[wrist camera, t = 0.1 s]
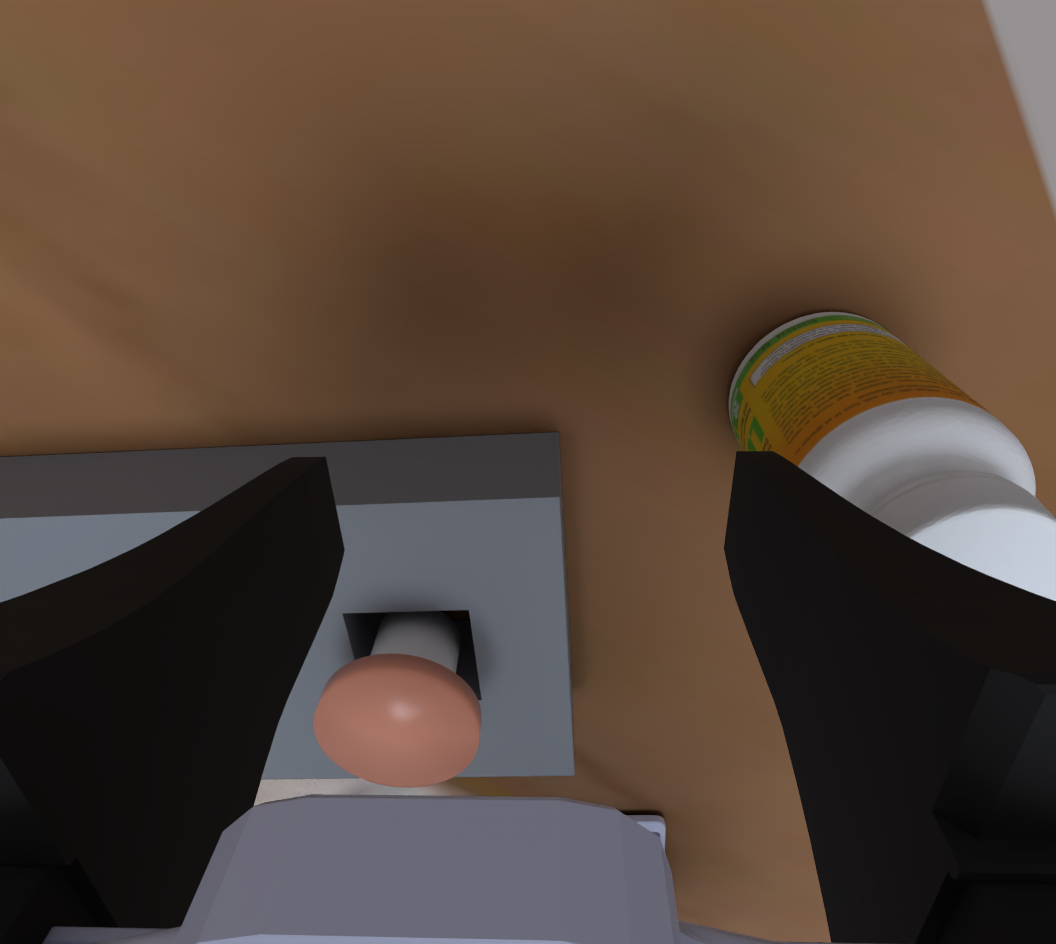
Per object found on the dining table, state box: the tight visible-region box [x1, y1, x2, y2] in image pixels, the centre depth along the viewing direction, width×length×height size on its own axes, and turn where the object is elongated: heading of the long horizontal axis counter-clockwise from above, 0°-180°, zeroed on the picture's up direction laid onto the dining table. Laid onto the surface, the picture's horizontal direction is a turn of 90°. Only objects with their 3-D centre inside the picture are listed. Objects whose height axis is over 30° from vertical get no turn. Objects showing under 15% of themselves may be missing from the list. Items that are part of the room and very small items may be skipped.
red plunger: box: [313, 611, 482, 787], centre depth 22 cm, size 5×5×4 cm
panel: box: [0, 432, 575, 779], centre depth 25 cm, size 12×20×4 cm, turn 94°
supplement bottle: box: [729, 312, 1056, 601], centre depth 18 cm, size 5×5×10 cm
